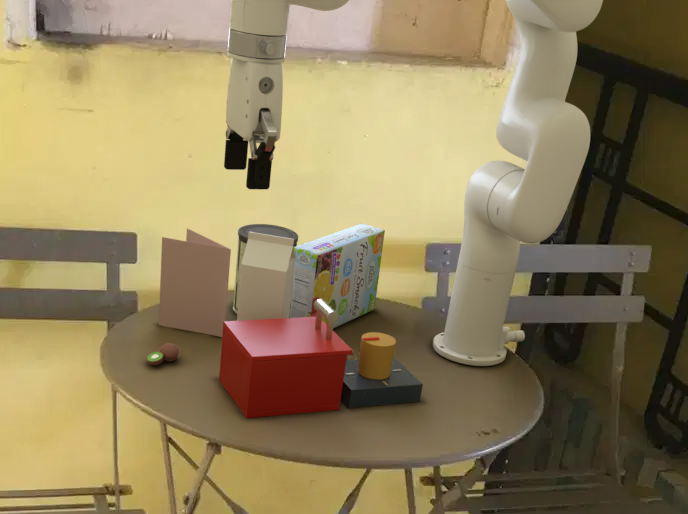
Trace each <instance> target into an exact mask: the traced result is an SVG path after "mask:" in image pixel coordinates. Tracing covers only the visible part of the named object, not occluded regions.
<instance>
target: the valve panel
mask: <svg viewBox="0 0 688 514" xmlns="http://www.w3.org/2000/svg"><path fill="white" fill-rule="evenodd" d="M357 365H358V358H356V359H346V366H345V373H344V380H343V387H342V394H341V402H343V403H344V404H345V405H346V406H347V407H348V409H352V408H363V407H364V408H365V407H373V406H374V407H375V406H384V405H385V406H386V405H396V404H397V405H398V404H408V403H419V402H421V397H422V391H423V386H424V384H423V382H421V381H420V380H419V378H417V376H415V375H414V374H413V373H412V372H411V371H409V370H408V368H406V367H405V365H403V364H402V363H401V362H400V361H399V360H398V359H397V358H396V357H395V356H394V357H393V363H392V368H391V374H390V376H389V377H388V378H386V379H381V380H376V379H369V378H366V377H363V376H361V375H360V374H359V373H358V372H357Z"/></svg>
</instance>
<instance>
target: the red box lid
mask: <svg viewBox="0 0 688 514" xmlns="http://www.w3.org/2000/svg"><path fill="white" fill-rule="evenodd" d="M314 308H315V309H316V310H317V314H316V317H299V318H280V319H261V320H242V321H237V320H226V321H224V322H223V326H224V327H225V329H226V330H227V331H228V332H229V333H230V335H231V336H232V337H233V338H234V340H235V341H236V342H237V343H238V345H239V346H240V347H241V348H242V350H243V351H244V352H245V353H246V355H247V356H248V357H249V358H250V360H251V361H262V360H277V359H291V358H306V357H321V356H336V355H347V356H349V355H353V352H354V351H353V349H352V348H351V347H350V346H349V345H348V344H347V343H346V342H345V341H344V340H343V339H342V338H341V337H340V336H339V334H337V332H335V331H334V328H333V323H334V322H336V321H337V319H338V314H337V312H336V311H334V310H333V309H332V308H331V307H330V306H329V305H328V304H327V303H326V302H325V301H324V300H323V299H318V300H316V301H315V303H314ZM322 316H323V317H324V318H325V319H326V320H327V321H328V323H327V324H326V323H325V322H324V321H323V320H322Z"/></svg>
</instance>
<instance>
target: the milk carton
mask: <svg viewBox="0 0 688 514" xmlns="http://www.w3.org/2000/svg"><path fill="white" fill-rule="evenodd" d="M293 243H294V239H290V238H284V237H278V236H272V235H266V234H261V233H255V232H249V235H248V241H247V245H246V248H245V252H244V256H243V260H242V263H241V276H240V288H239V300H238V313H237V314H236V321H242V320H261V319H280V318H289V312H290V303H291V294H292V285H293V276H294V267H295V252H294V247H293Z"/></svg>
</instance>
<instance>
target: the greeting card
mask: <svg viewBox="0 0 688 514" xmlns="http://www.w3.org/2000/svg"><path fill="white" fill-rule="evenodd" d="M185 238H186V239H185V240H182V239H181V240H180V239H176V238H169V237H164V236H162V237H161V252H160V253H161V256H160V257H161V258H160V260H161V261H160V279H159V280H160V282H159V286H160V287H159V306H158V307H159V308H158V325H159V326H161V327H168V328H172V329H178V330H182V331H188V332H194V333H200V334H203V335H208V336H215V337H219V338H222V333H223V322H224V321H227V320H226V319H227V307H228V293H229V278H230V266H231V251H232V249H231V248H229V247H227V246H225V245H223V244H221V243H219V242H217V241H214V240H212V239H211V238H209V237H206V236H204V235H202V234H200V233H199V232H196V231H194V230H192V229H189V228H188V227H187V228H186V237H185Z"/></svg>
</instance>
